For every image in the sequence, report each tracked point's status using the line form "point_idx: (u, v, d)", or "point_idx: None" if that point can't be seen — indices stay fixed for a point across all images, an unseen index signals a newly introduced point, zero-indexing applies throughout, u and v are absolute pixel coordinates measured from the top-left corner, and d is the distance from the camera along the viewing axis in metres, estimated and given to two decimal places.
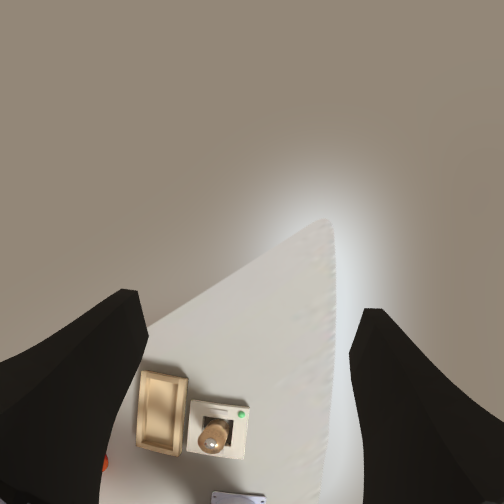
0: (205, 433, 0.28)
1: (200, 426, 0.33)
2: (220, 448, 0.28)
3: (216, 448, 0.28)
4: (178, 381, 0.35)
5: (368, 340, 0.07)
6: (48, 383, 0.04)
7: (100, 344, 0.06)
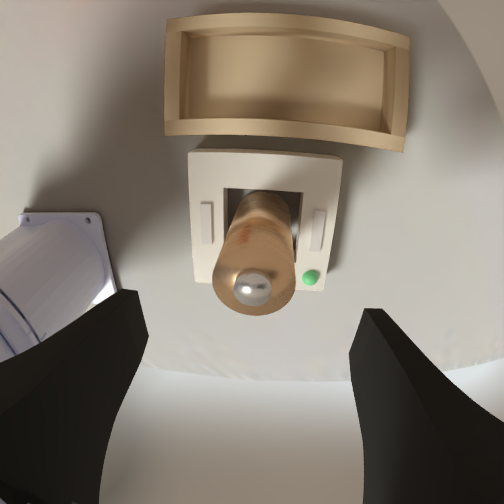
0: (285, 269, 0.10)
1: (271, 186, 0.15)
2: (237, 306, 0.12)
3: (235, 296, 0.11)
4: (398, 135, 0.12)
5: (368, 340, 0.07)
6: (48, 383, 0.04)
7: (100, 344, 0.06)
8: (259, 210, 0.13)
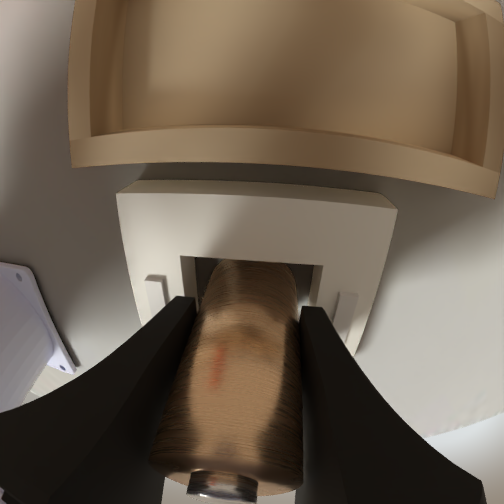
0: (284, 476, 0.04)
1: (264, 254, 0.08)
2: None
3: None
4: (492, 169, 0.05)
5: (302, 339, 0.07)
6: (125, 411, 0.04)
7: (167, 358, 0.06)
8: (240, 314, 0.07)
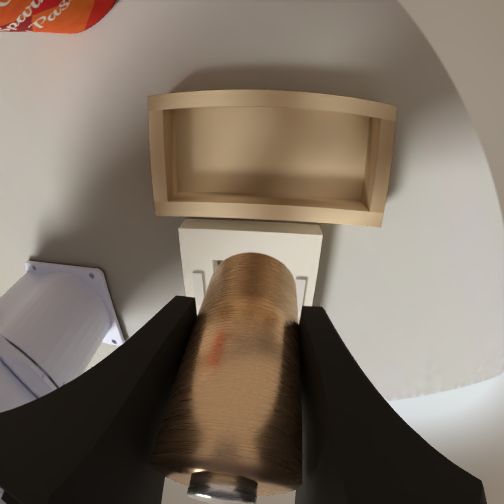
0: (283, 477, 0.04)
1: None
2: None
3: None
4: (376, 212, 0.14)
5: (302, 339, 0.07)
6: (125, 411, 0.04)
7: (167, 358, 0.06)
8: (240, 316, 0.07)
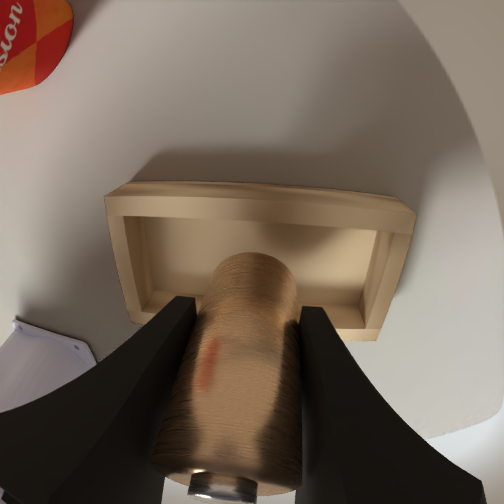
0: (283, 477, 0.04)
1: None
2: None
3: None
4: (373, 329, 0.12)
5: (302, 339, 0.07)
6: (125, 411, 0.04)
7: (167, 358, 0.06)
8: (240, 316, 0.07)
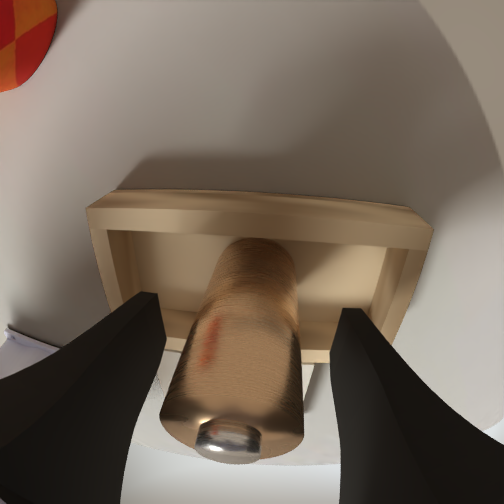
0: (286, 424, 0.05)
1: None
2: None
3: None
4: None
5: (345, 340, 0.07)
6: (72, 393, 0.04)
7: (123, 349, 0.06)
8: (245, 285, 0.08)
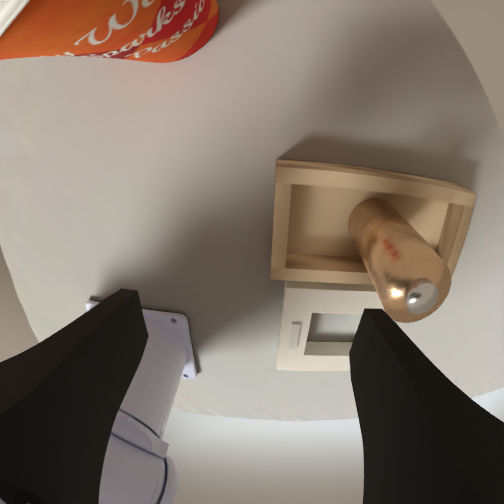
0: (446, 277, 0.09)
1: (349, 311, 0.18)
2: (397, 315, 0.11)
3: (398, 306, 0.10)
4: None
5: (368, 340, 0.07)
6: (48, 383, 0.04)
7: (100, 344, 0.06)
8: (396, 219, 0.12)
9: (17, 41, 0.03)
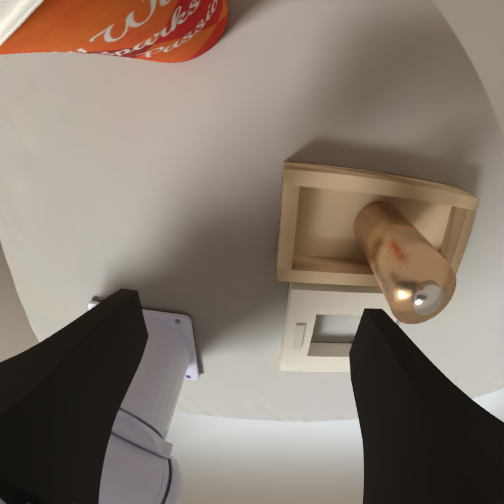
0: (451, 279, 0.10)
1: (353, 312, 0.18)
2: (403, 316, 0.11)
3: (405, 307, 0.10)
4: None
5: (368, 340, 0.07)
6: (48, 383, 0.04)
7: (100, 344, 0.06)
8: (402, 222, 0.13)
9: (34, 34, 0.03)
